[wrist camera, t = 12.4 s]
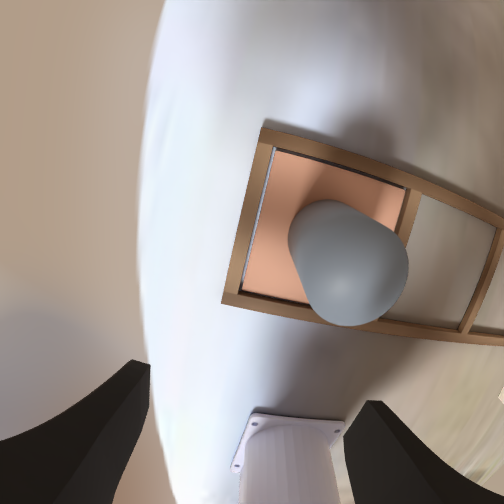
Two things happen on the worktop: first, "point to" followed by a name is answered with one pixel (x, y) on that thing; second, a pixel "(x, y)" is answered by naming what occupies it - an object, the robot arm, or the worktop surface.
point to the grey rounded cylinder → (346, 262)
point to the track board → (356, 196)
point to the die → (501, 396)
